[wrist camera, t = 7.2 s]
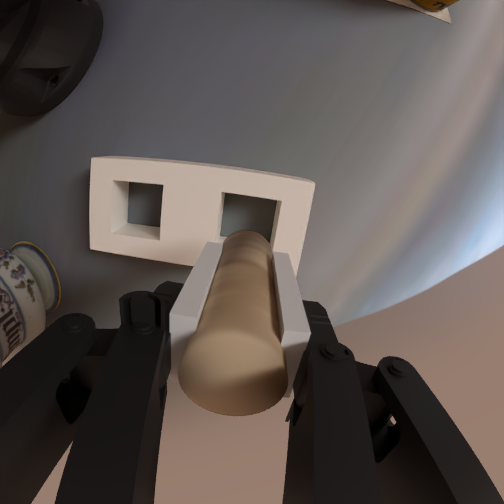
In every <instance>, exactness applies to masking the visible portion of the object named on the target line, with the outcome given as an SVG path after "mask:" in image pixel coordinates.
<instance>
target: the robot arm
mask: <svg viewBox="0 0 504 504" xmlns="http://www.w3.org/2000/svg"><path fill="white" fill-rule="evenodd" d="M102 30H103V16H102V12H101V9H100V7H99V5H98V4H97V3H96V1H94V0H0V109H2V110H3V111H5V112H7V113H9V114H12V115H17V116H35V115H39V114H42V113H45V112H47V111H49V110H50V109H52V108H54V107H55V106H56V105H58V104H59V103H60V102H61V101H63V100H64V99H65V98H66V97H67V96H68V95H69V94H70V93H71V92H72V90H73V89H74V88H75V87H76V86H77V84H78V83H79V82H80V80H81V79H82V77H83V76H84V75H85V73H86V71H87V70H88V68H89V66H90V64H91V62H92V61H93V58H94V56H95V54H96V52H97V49H98V46H99V43H100V40H101V36H102ZM222 247H223V244H222V243H215V242H208V241H207V243H206V245H205V247H204V248H203V250H202V252H201V254H200V256H199V258H198V260H197V261H196V263H195V265H194V267H193V269H192V271H191V273H190V275H189V277H188V278H187V280H186V282H185V284H182V283H176V282H170V281H166V282H164V283H162V284H161V285H159V286H158V287H157V288H156V290H155V291H154V293H153V292H148V291H135V292H130V293H127V294H125V295H123V296H122V297H121V298H120V299H119V304H120V316H121V326H120V328H118V329H96V328H95V322H94V321H93V319H92V318H91V317H89V316H87V315H85V314H80V313H71V314H68V315H64V316H62V317H61V318H59V319H58V320H56V321H55V322H54V323H53V324H51V325H50V326H49V327H48V328H47V329H45V330H44V331H43V332H42V333H41V334H39V335H38V336H37V337H36V338H35V339H33V340H32V341H31V342H30V343H29V344H28V345H26V346H25V347H24V348H23V349H22V350H21V351H20V352H18V353H17V354H16V355H15V356H14V357H13V358H12V359H11V360H9V361H8V362H7V363H6V364H5V365H4V366H3V367H2V368H0V504H31V503H32V501H33V500H34V498H35V497H36V495H37V493H38V492H39V490H40V489H41V487H42V486H43V484H44V483H45V481H46V479H47V478H48V477H49V475H50V474H51V472H52V470H53V469H54V467H55V466H56V465H57V463H58V461H59V460H60V459H61V457H62V456H63V454H64V453H65V451H66V450H67V448H68V447H69V445H70V444H71V443H72V441H73V443H72V446H71V449H70V453H69V455H68V458H67V461H66V465H65V468H64V471H63V475H62V478H61V482H60V486H59V489H58V492H57V496H56V501H55V504H154V495H155V484H156V473H157V464H158V454H159V445H160V438H161V430H162V423H163V416H164V409H165V402H166V395H167V379H168V376H169V373H170V381H171V382H176V383H179V380H178V369H179V366H180V363H181V360H182V357H183V354H184V351H185V348H186V345H187V343H188V341H189V340H190V338H191V337H192V336H193V335H194V334H195V333H196V330H197V327H198V324H199V321H200V318H201V314H202V311H203V308H204V305H205V302H206V299H207V296H208V293H209V290H210V287H211V284H212V281H213V278H214V275H215V272H216V269H217V266H218V263H219V260H220V257H221V254H222ZM271 263H272V272H273V280H274V288H275V297H276V306H277V315H278V324H279V333H280V342H281V346H282V348H283V350H284V352H285V357H286V364H287V373H288V387H287V390H286V393H285V394H284V396H283V397H290V394H291V391H292V388H293V390H294V400H293V402H292V405H291V407H290V410H289V412H288V415H287V417H286V420H285V421H286V422H288V421H289V419H290V424H289V439H288V451H287V463H286V474H285V485H284V494H283V504H504V501H503V499H502V498H501V496H500V494H499V492H498V491H497V489H496V487H495V486H494V484H493V482H492V481H491V479H490V477H489V476H488V474H487V472H486V471H485V469H484V467H483V466H482V464H481V463H480V461H479V459H478V458H477V456H476V455H475V454H474V452H473V450H472V449H471V447H470V446H469V444H468V443H467V441H466V440H465V438H464V437H463V435H462V434H461V432H460V431H459V429H458V428H457V426H456V425H455V423H454V422H453V420H452V419H451V418H450V416H449V415H448V413H447V412H446V410H445V409H444V408H443V406H442V405H441V404H440V402H439V401H438V399H437V398H436V396H435V395H434V394H433V392H432V391H431V390H430V388H429V387H428V385H427V384H426V383H425V381H424V380H423V379H422V377H421V376H420V375H419V373H418V372H417V371H416V369H415V368H414V367H413V366H412V365H411V364H410V363H409V362H407V361H405V360H404V359H401V358H399V357H393V356H388V357H384V358H383V359H381V360H380V361H379V363H378V365H377V367H376V366H372V365H367V364H364V363H360V362H357V361H355V358H354V355H353V353H352V351H351V350H350V349H349V348H347V347H346V346H345V345H343V344H341V343H338V340H337V337H336V335H335V332H334V330H333V327H332V325H331V322H330V319H329V318H328V314H327V312H326V309H325V308H324V307H323V306H322V305H320V304H319V303H318V302H313V301H305V300H302V299H301V295H300V291H299V288H298V284H297V281H296V278H295V274H294V271H293V267H292V264H291V260H290V257H289V254H288V253H282V252H275V251H273V254H272V259H271ZM66 376H67V377H66ZM65 377H66V378H65ZM64 378H65V379H64ZM392 416H393V417H394V419H395V421H396V424H395V425H394V424H393V423H392V422H391V420H390V418H391V417H392Z"/></svg>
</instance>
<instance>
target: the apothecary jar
mask: <svg viewBox="0 0 504 504" xmlns="http://www.w3.org/2000/svg"><path fill="white" fill-rule="evenodd" d="M60 299H61V286H60V282H59V278H58V275H57V272H56V270H55V268H54V266H53V264H52V262H51V261H50V259H49V258H48V256H47V255H46V254H45V253H44V252H43V251H42V250H41V249H40V248H39V247H38V246H36V245H35V244H33V243H30V242H27V241H21V242H18V243H16V244H14V245H13V246H12V248H11V249H10V251H8V250H6V249H3V248H0V368H2V362H3V361H4V360H5V359H6V358H7V357H8V356H9V354H10V353H11V352H12V351H13V350H14V349H15V348H17V347H18V346H26V345H28V344H29V343H30V342H31V341H32V340H33V339H35V338H36V337H37V336H38V335H39V334H41V333H42V332H43V331H44V329H45V324H46V314H48V313H51V312H53V311H54V310H55V309H56V308H57V307H58V305H59V303H60Z"/></svg>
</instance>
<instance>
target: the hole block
mask: <svg viewBox="0 0 504 504" xmlns="http://www.w3.org/2000/svg"><path fill="white" fill-rule="evenodd" d="M129 182H140V183H151V184H160V185H164V186H163V197H162V210H161V225H160V227H154V226H146V225H139V224H132V223H127V219H128V195H129ZM314 188H315V183H314V182H312V181H310V180H309V179H306V178H301V177H295V176H290V175H284V174H278V173H272V172H266V171H259V170H253V169H246V168H239V167H232V166H224V165H216V164H208V163H199V162H190V161H179V160H168V159H156V158H142V157H126V156H103V157H94V158H92V159H91V174H90V205H89V222H90V249H93V250H98V251H104V252H110V253H116V254H121V255H127V256H133V257H139V258H145V259H151V260H157V261H163V262H169V263H176V264H182V265H188V266H194V265H195V263H196V261H197V260H198V258H199V256H200V254H201V252H202V250H203V248H204V247H205V245H206V243H207V241H208V242H215V243H222V244H223V242H224V240H225V239H226V238H227V237H224V236H220V230H221V222H222V214H223V207H224V199H225V192H226V193H234V194H241V195H247V196H254V197H261V198H267V199H273V200H277V204H276V210H275V216H274V222H273V227H272V233H271V238H270V243H269V245H270V247H271V251H272V254H273V251H275V252H282V253H288V254H289V257H290V260H291V264H292V267H293V271H294V274H295V278H296V274H297V270H298V266H299V261H300V257H301V252H302V247H303V243H304V238H305V233H306V229H307V224H308V219H309V214H310V209H311V204H312V199H313V194H314Z"/></svg>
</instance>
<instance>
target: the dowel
mask: <svg viewBox="0 0 504 504" xmlns="http://www.w3.org/2000/svg"><path fill="white" fill-rule="evenodd" d="M271 259H272V251H271V247H270V245H269V243H268V241H267V240H266V239H265V238H264V237H263V236H262V235H260V234H258V233H256V232H254V231H249V230H242V231H237V232H235V233H233V234H231V235H229V236H228V237H227V238H226V239H225V240H224V242H223V247H222V254H221V257H220V260H219V263H218V266H217V269H216V272H215V275H214V278H213V281H212V284H211V287H210V290H209V293H208V296H207V299H206V302H205V305H204V308H203V311H202V314H201V318H200V321H199V324H198V327H197V330H196V333H195V334H194V335H193V336H192V337H191V338H190V340H189V341H188V343H187V345H186V348H185V351H184V354H183V357H182V360H181V363H180V366H179V369H178V380H179V383H180V386H181V388H182V390H183V391H184V393H185V394H186V395H187V396H188V397H189V398H190V399H191V400H192V401H193V402H194V403H196V404H197V405H199V406H201V407H203V408H204V409H207V410H209V411H211V412H214V413H218V414H222V415H229V416H246V415H253V414H256V413H260V412H263V411H265V410H267V409H269V408H271V407H272V406H274V405H275V404H276V403H278V402H279V401H280V400H281V399H282V397H283V396H284V394H285V393H286V390H287V387H288V373H287V364H286V357H285V352H284V350H283V348H282V346H281V342H280V333H279V324H278V315H277V306H276V297H275V288H274V280H273V272H272V263H271Z"/></svg>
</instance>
